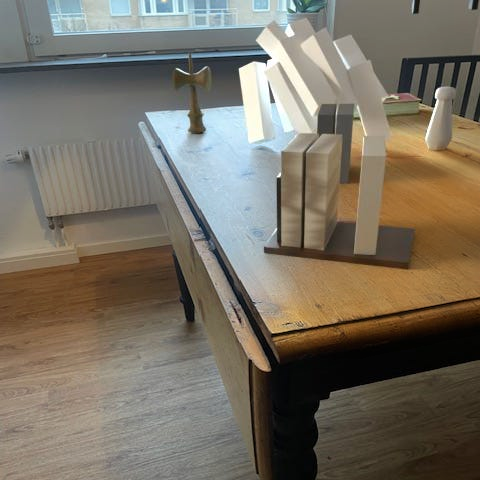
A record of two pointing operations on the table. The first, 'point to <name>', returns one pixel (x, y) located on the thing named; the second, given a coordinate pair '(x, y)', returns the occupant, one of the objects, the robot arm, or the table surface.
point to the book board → (345, 247)
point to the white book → (370, 194)
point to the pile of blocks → (309, 82)
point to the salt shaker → (441, 120)
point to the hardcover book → (397, 105)
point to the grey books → (338, 131)
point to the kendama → (193, 92)
